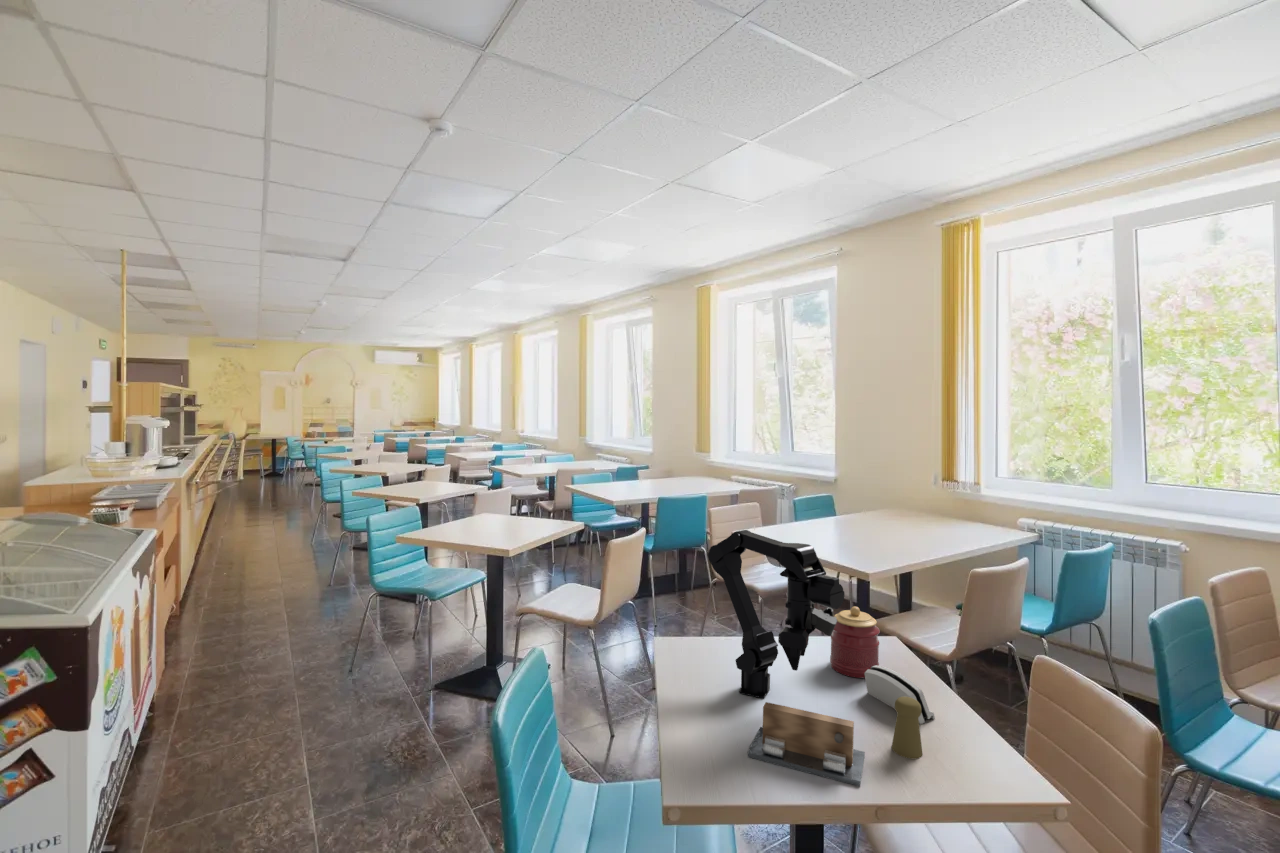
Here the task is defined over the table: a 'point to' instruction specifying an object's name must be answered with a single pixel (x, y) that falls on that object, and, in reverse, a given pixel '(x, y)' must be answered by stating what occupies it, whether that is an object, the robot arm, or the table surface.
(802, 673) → the table surface
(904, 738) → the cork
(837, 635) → the canister
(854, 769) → the plate
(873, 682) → the white curved block
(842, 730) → the cabinet door
